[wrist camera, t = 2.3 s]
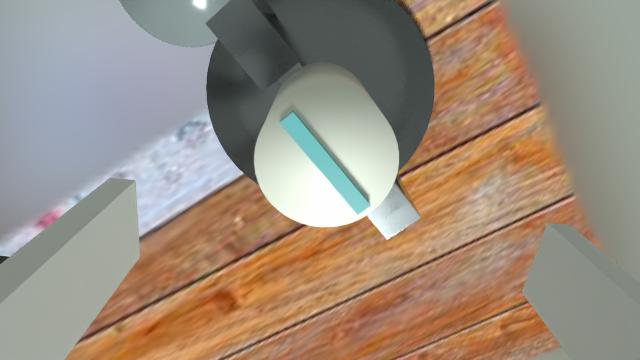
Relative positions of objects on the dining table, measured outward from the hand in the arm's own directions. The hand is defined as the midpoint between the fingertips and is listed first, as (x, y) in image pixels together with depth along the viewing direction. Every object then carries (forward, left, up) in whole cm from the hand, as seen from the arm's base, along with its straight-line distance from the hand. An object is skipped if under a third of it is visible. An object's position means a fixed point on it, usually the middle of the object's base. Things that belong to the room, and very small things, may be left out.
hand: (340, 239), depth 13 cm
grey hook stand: (0, 0, -23) cm, 23 cm away
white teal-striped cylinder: (0, 0, -19) cm, 19 cm away
